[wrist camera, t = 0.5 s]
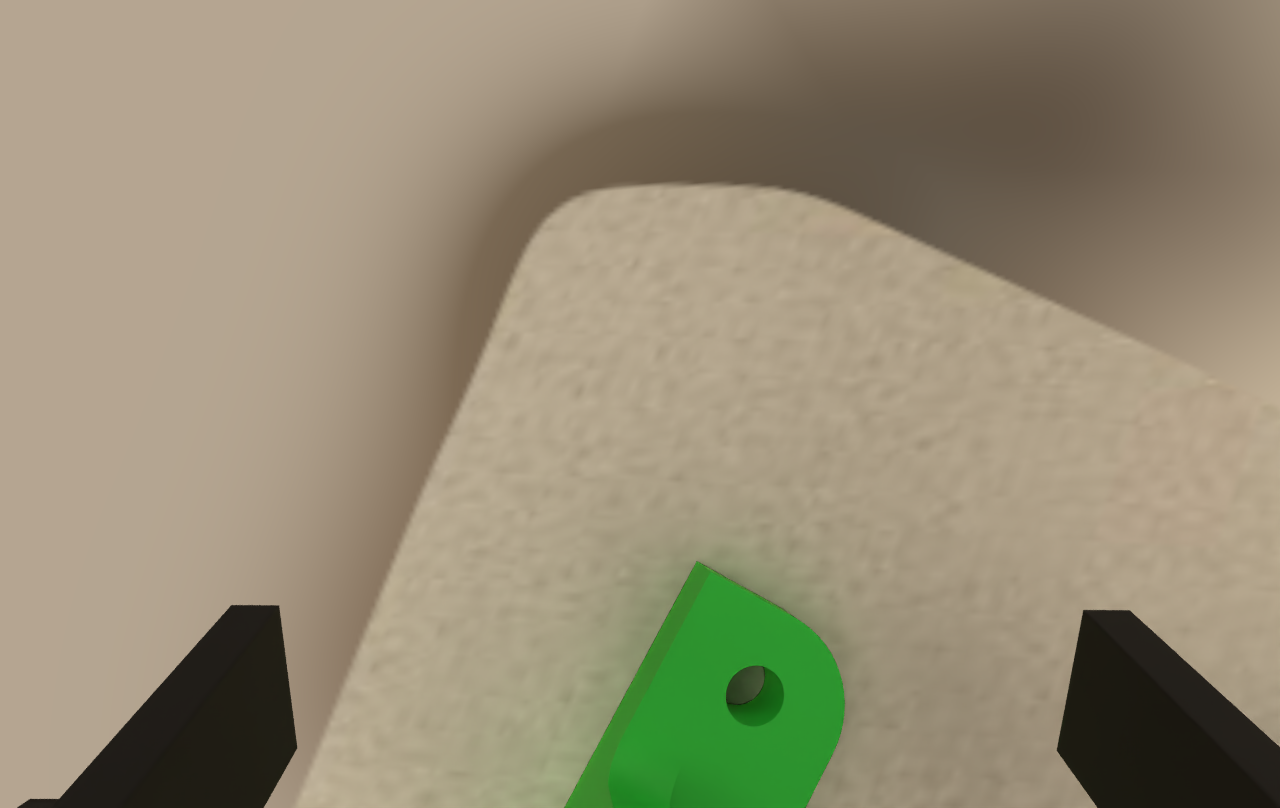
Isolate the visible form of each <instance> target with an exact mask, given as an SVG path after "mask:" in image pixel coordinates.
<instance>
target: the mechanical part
mask: <svg viewBox="0 0 1280 808" xmlns="http://www.w3.org/2000/svg"><path fill="white" fill-rule="evenodd" d="M749 666H763V667H764V671H765V680H764V685H763V687H762V689H761V691H760V693H759V694H758V695H757V696H756V697H755V698H754V699H753V700H751V701H750V702H748V703H745V704H741V705H732V704H729V703H726V690H727V687H728V684H729V682H730V680H731V679H732V677H733V676H734V675H735V674H736V673H737V672H739V671H740V670H742V669H744V668H746V667H749ZM844 709H845V700H844V689H843V683H842V679H841V676H840V672H839V669H838V667H837V664H836V662H835V660H834V658H833V656H832V654H831V652H830V651H829V649H828V648H827V646H826V645H825V644H824V642H823V641H822V640H821V639H820V637H819V636H818V635H817V634H816V633H815V632H814V631H813V630H811V629H810V628H809V627H808V626H806V625H805V624H804V623H802V622H801V621H799V620H798V619H796V618H795V617H793V616H792V615H790V614H789V613H787V612H786V611H784V610H783V609H781V608H780V607H778V606H777V605H775V604H773V603H771V602H770V601H768V600H766V599H764V598H762V597H760V596H759V595H757V594H755V593H753V592H751V591H750V590H748V589H746V588H744V587H742V586H741V585H739V584H737V583H735V582H733V581H732V580H730V579H728V578H726V577H724V576H723V575H721V574H719V573H717V572H715V571H714V570H712V569H710V568H708V567H706V566H704V565H703V564H701V563H699V562H696V564H695V566H694V568H693V569H692V571H691V573H690V575H689V577H688V579H687V581H686V582H685V584H684V586H683V588H682V590H681V592H680V594H679V595H678V597H677V599H676V601H675V603H674V605H673V607H672V608H671V610H670V612H669V614H668V616H667V618H666V620H665V621H664V623H663V625H662V627H661V629H660V631H659V633H658V635H657V636H656V638H655V640H654V642H653V644H652V646H651V648H650V649H649V651H648V653H647V655H646V657H645V659H644V661H643V662H642V664H641V666H640V668H639V670H638V672H637V674H636V675H635V677H634V679H633V681H632V683H631V685H630V687H629V688H628V690H627V692H626V694H625V696H624V698H623V700H622V701H621V703H620V705H619V707H618V709H617V711H616V713H615V714H614V716H613V718H612V720H611V722H610V724H609V726H608V728H607V729H606V731H605V733H604V735H603V737H602V739H601V741H600V742H599V744H598V746H597V748H596V750H595V752H594V754H593V755H592V757H591V759H590V761H589V763H588V765H587V767H586V768H585V770H584V772H583V774H582V776H581V778H580V780H579V781H578V783H577V785H576V787H575V789H574V791H573V793H572V794H571V796H570V798H569V800H568V802H567V804H566V806H565V807H564V808H806V806H807V804H808V802H809V800H810V798H811V796H812V794H813V792H814V790H815V788H816V786H817V784H818V782H819V780H820V778H821V776H822V774H823V772H824V770H825V768H826V766H827V764H828V762H829V760H830V758H831V756H832V754H833V752H834V750H835V748H836V746H837V743H838V740H839V737H840V734H841V730H842V726H843V720H844Z"/></svg>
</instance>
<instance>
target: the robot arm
mask: <svg viewBox="0 0 1280 808" xmlns="http://www.w3.org/2000/svg"><path fill="white" fill-rule="evenodd" d="M296 749H297V742H296V735H295V727H294V718H293V711H292V703H291V695H290V688H289V681H288V672H287V664H286V657H285V648H284V641H283V633H282V626H281V618H280V610H279V606H274V605H270V606H267V605H266V606H265V605H264V606H261V605H259V606H258V605H231V606H230V607H229V609H228V610H227V611H226V612H225V613H224V614H223V615H222V616H221V618H220V619H219V620H218V621H217V622H216V623H215V624H214V626H213V627H212V628H211V629H210V630H209V631H208V632H207V633H206V635H205V636H204V637H203V638H202V639H201V640H200V641H199V642H198V643H197V645H196V646H195V647H194V648H193V649H192V650H191V651H190V653H189V654H188V655H187V656H186V657H185V658H184V659H183V660H182V661H181V663H180V664H179V665H178V666H177V667H176V668H175V670H174V671H173V672H172V673H171V674H170V675H169V676H168V677H167V678H166V679H165V681H164V682H163V683H162V684H161V685H160V686H159V687H158V688H157V690H156V691H155V692H154V693H153V694H152V695H151V696H150V697H149V698H148V700H147V701H146V702H145V703H144V704H143V705H142V706H141V708H140V709H139V710H138V711H137V712H136V713H135V714H134V715H133V716H132V718H131V719H130V720H129V721H128V722H127V723H126V724H125V725H124V727H123V728H122V729H121V730H120V731H119V732H118V733H117V735H116V736H115V737H114V738H113V739H112V740H111V741H110V742H109V744H108V745H107V746H106V747H105V748H104V749H103V750H102V751H101V752H100V754H99V755H98V756H97V757H96V758H95V759H94V760H93V762H92V763H91V764H90V765H89V766H88V767H87V768H86V769H85V771H84V772H83V773H82V774H81V775H80V776H79V777H78V778H77V780H76V781H75V782H74V783H73V784H72V785H71V786H70V787H69V789H68V790H67V791H66V792H65V793H64V794H63V795H62V796H61V798H60V799H30V800H28V801H26V802H25V803H23V804H22V805H21V806H19V807H18V808H264V806H265V804H266V803H267V801H268V799H269V797H270V796H271V793H272V792H273V790H274V788H275V787H276V785H277V783H278V781H279V780H280V778H281V776H282V774H283V772H284V771H285V769H286V767H287V765H288V763H289V762H290V760H291V758H292V756H293V755H294V753H295V751H296ZM1057 752H1058V753H1059V754H1060V756H1061V757H1062V759H1063V760H1064V761H1065V763H1066V764H1067V766H1068V767H1069V768H1070V770H1071V771H1072V773H1073V774H1074V775H1075V777H1076V778H1077V780H1078V781H1079V782H1080V784H1081V785H1082V787H1083V788H1084V789H1085V791H1086V792H1087V794H1088V795H1089V796H1090V798H1091V799H1092V801H1093V802H1094V803H1095V805H1096V806H1097V808H1280V747H1279V746H1278V745H1277V744H1276V743H1275V742H1273V741H1272V740H1271V739H1270V738H1269V737H1268V736H1267V735H1266V734H1265V733H1264V732H1262V731H1261V730H1260V729H1259V728H1258V727H1257V726H1256V725H1255V724H1254V723H1253V722H1252V721H1250V720H1249V719H1248V718H1247V717H1246V716H1245V715H1244V714H1243V713H1242V712H1241V711H1239V710H1238V709H1237V708H1236V707H1235V706H1234V705H1233V704H1232V703H1231V702H1230V701H1228V700H1227V699H1226V698H1225V697H1224V696H1223V695H1222V694H1221V693H1220V692H1219V691H1218V690H1216V689H1215V688H1214V687H1213V686H1212V685H1211V684H1210V683H1209V682H1208V681H1207V680H1205V679H1204V678H1203V677H1202V676H1201V675H1200V674H1199V673H1198V672H1197V671H1196V670H1194V669H1193V668H1192V667H1191V666H1190V665H1189V664H1188V663H1187V662H1186V661H1185V660H1184V659H1182V658H1181V657H1180V656H1179V655H1178V654H1177V653H1176V652H1175V651H1174V650H1173V649H1171V648H1170V647H1169V646H1168V645H1167V644H1166V643H1165V642H1164V641H1163V640H1162V639H1161V638H1159V637H1158V636H1157V635H1156V634H1155V633H1154V632H1153V631H1152V630H1151V629H1150V628H1148V627H1147V626H1146V625H1145V624H1144V623H1143V622H1142V621H1141V620H1140V619H1139V618H1137V617H1136V616H1135V615H1134V614H1133V613H1132V612H1131V611H1130V610H1083V615H1082V620H1081V626H1080V631H1079V636H1078V642H1077V647H1076V652H1075V657H1074V663H1073V668H1072V673H1071V678H1070V684H1069V689H1068V694H1067V699H1066V705H1065V710H1064V715H1063V720H1062V726H1061V731H1060V736H1059V742H1058V747H1057Z"/></svg>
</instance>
